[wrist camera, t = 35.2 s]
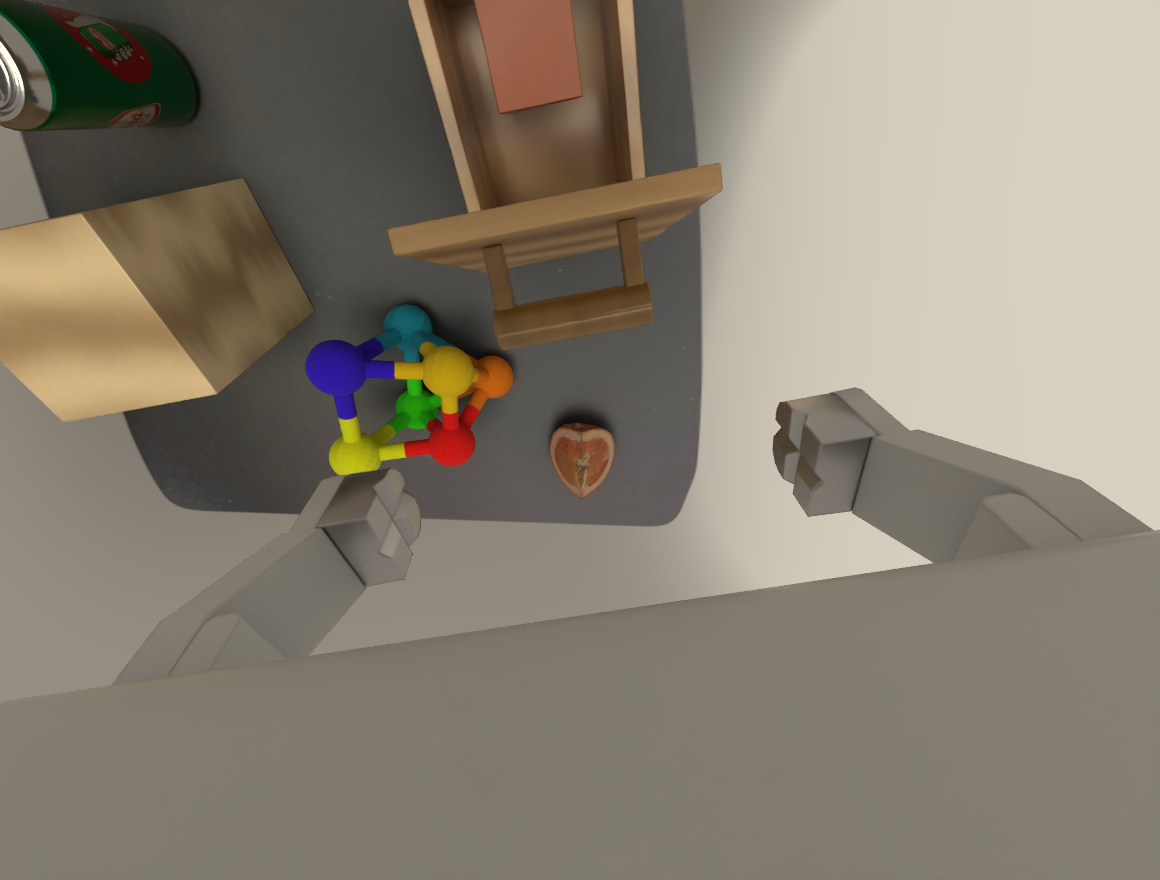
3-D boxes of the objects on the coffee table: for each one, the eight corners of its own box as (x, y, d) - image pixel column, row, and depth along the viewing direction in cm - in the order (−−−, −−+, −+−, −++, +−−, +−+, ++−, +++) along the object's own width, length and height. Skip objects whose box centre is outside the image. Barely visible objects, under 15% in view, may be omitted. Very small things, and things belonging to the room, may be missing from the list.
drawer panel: (385, 228, 14) (426, 371, 16) (721, 161, 14) (732, 315, 15) (480, 259, 28) (497, 333, 29) (649, 226, 27) (659, 303, 29)
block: (483, 13, 27) (473, -3, 23) (564, -5, 27) (567, -25, 23) (505, 113, 30) (499, 114, 26) (578, 98, 30) (583, 96, 26)
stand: (114, 204, 33) (-113, 253, 22) (243, 177, 32) (79, 213, 21) (204, 332, 39) (63, 423, 27) (315, 310, 38) (217, 394, 27)
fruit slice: (548, 405, 45) (548, 434, 41) (614, 404, 45) (621, 433, 41) (550, 469, 50) (550, 501, 46) (610, 468, 50) (615, 499, 46)
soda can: (137, 124, 30) (-58, 130, 20) (91, 22, 27) (-162, -28, 18) (216, 127, 30) (61, 134, 21) (179, 26, 27) (-21, -20, 18)
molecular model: (536, 356, 42) (497, 513, 38) (435, 358, 47) (389, 497, 42) (439, 239, 29) (361, 456, 25) (312, 256, 34) (227, 442, 29)
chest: (434, -4, 27) (394, -44, 20) (605, -43, 27) (626, -98, 20) (495, 233, 35) (482, 263, 28) (628, 207, 35) (649, 231, 28)
